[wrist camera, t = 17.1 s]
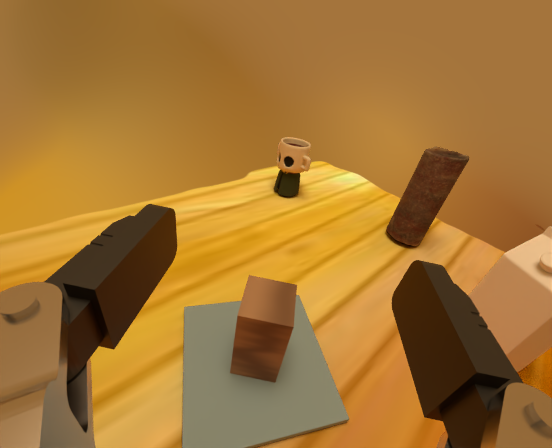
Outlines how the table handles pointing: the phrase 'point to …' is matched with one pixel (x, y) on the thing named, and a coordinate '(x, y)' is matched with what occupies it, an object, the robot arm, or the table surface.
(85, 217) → the table surface
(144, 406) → the table surface
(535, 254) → the milk carton
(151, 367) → the table surface
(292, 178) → the character mug
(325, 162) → the table surface
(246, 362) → the walnut block
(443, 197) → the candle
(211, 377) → the slate-blue mat
